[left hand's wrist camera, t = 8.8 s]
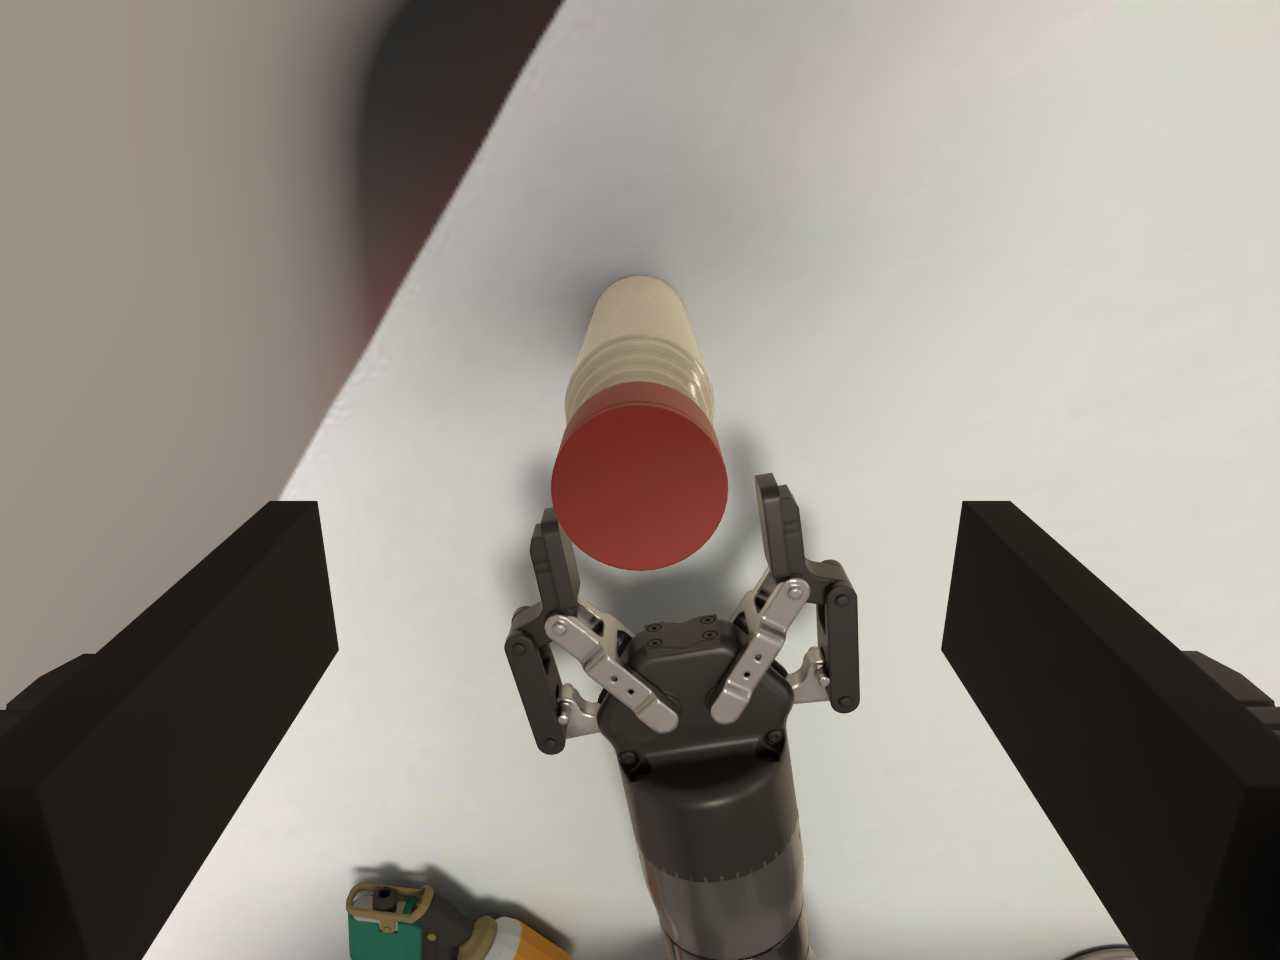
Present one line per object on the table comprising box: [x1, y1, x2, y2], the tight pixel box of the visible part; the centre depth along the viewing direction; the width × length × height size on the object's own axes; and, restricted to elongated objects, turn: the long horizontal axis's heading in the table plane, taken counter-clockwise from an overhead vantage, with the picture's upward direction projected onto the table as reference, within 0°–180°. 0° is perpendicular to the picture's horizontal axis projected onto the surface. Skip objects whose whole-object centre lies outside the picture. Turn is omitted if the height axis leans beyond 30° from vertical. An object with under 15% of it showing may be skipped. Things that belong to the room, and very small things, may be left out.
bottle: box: [565, 276, 715, 426], centre depth 27 cm, size 4×4×20 cm
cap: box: [551, 381, 728, 571], centre depth 18 cm, size 4×4×2 cm
